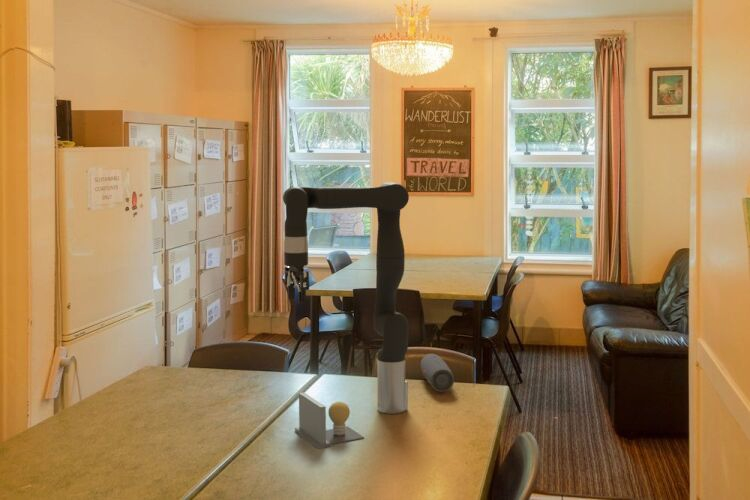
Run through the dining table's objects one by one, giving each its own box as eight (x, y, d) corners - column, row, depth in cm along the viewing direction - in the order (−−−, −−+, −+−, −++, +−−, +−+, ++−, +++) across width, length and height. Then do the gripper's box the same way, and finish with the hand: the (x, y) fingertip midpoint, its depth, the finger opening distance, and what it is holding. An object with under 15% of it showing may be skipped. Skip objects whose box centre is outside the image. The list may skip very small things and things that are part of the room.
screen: (307, 428, 246) (306, 391, 244) (330, 446, 231) (330, 406, 229) (295, 431, 244) (294, 393, 242) (318, 448, 229) (317, 408, 228)
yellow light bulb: (347, 438, 236) (346, 406, 235) (326, 437, 237) (325, 404, 236) (352, 431, 242) (351, 399, 241) (331, 430, 243) (331, 398, 242)
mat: (347, 427, 247) (347, 426, 247) (363, 438, 237) (363, 437, 237) (315, 433, 242) (315, 432, 242) (330, 444, 232) (330, 443, 232)
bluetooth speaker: (418, 378, 302) (418, 352, 301) (442, 377, 303) (443, 351, 302) (429, 395, 279) (429, 368, 278) (455, 394, 280) (455, 367, 279)
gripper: (316, 252, 246) (316, 303, 248) (298, 247, 258) (298, 296, 260) (293, 253, 242) (294, 305, 244) (276, 248, 255) (277, 298, 257)
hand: (296, 301), depth 252 cm, fingers open, 8 cm apart
